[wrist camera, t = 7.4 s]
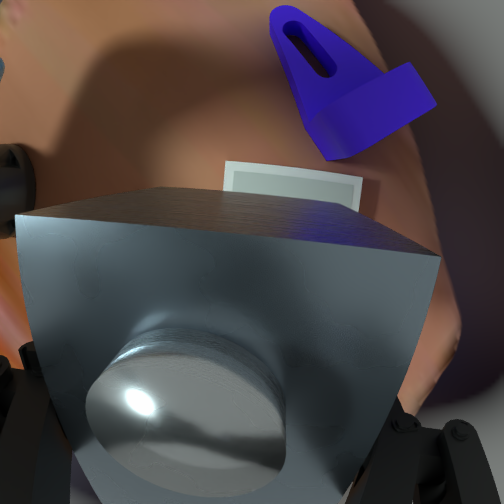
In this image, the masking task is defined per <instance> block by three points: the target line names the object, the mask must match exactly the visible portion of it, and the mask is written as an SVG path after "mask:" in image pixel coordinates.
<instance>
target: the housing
mask: <svg viewBox="0 0 504 504" xmlns="http://www.w3.org/2000/svg"><path fill="white" fill-rule="evenodd" d="M15 227H16V241H17V252H18V261H19V269H20V276H21V283H22V289H23V295H24V301H25V306H26V311H27V316H28V321H29V325H30V329H31V334H32V338H33V342H34V346H35V349H36V353H37V357H38V360H39V363H40V367H41V370H42V373H43V376H44V379H45V382H46V385H47V388H48V391H49V394H50V397H51V400H52V402H53V405H54V408H55V410H56V413H57V415H58V418H59V420H60V423H61V425H62V427H63V430H64V432H65V434H66V436H67V439H68V441H69V443H70V445H71V447H72V449H73V451H74V453H75V456H76V457H77V459H78V462H79V463H80V465H81V467H82V469H83V471H84V473H85V475H86V476H87V478H88V480H89V482H90V484H91V486H92V487H93V489H94V491H95V492H96V494H97V496H98V497H99V499H100V501H101V502H102V504H338V502H339V501H340V499H341V498H342V496H343V495H344V493H345V492H346V490H347V488H348V487H349V486H350V484H351V482H352V481H353V479H354V478H355V476H356V474H357V473H358V471H359V469H360V468H361V466H362V464H363V462H364V461H365V459H366V457H367V455H368V453H369V452H370V450H371V448H372V446H373V444H374V442H375V440H376V438H377V437H378V435H379V433H380V431H381V429H382V427H383V425H384V423H385V421H386V418H387V416H388V414H389V412H390V410H391V408H392V406H393V403H394V401H395V399H396V397H397V394H398V392H399V390H400V387H401V385H402V382H403V380H404V378H405V375H406V372H407V370H408V367H409V365H410V362H411V359H412V357H413V354H414V351H415V348H416V346H417V343H418V340H419V337H420V334H421V331H422V328H423V325H424V321H425V318H426V315H427V311H428V308H429V305H430V301H431V297H432V294H433V290H434V286H435V282H436V278H437V274H438V270H439V265H440V261H441V256H439V255H437V254H435V253H434V252H432V251H430V250H428V249H427V248H425V247H423V246H421V245H419V244H418V243H416V242H414V241H412V240H410V239H408V238H407V237H405V236H403V235H401V234H399V233H397V232H395V231H393V230H392V229H390V228H388V227H386V226H384V225H382V224H380V223H378V222H376V221H374V220H372V219H370V218H368V217H366V216H364V215H362V214H360V213H358V212H356V211H354V210H352V209H350V208H348V207H346V206H344V205H342V204H340V203H335V202H327V201H319V200H311V199H303V198H294V197H285V196H275V195H265V194H255V193H244V192H233V191H220V190H207V189H193V188H176V187H156V188H149V189H142V190H136V191H130V192H124V193H118V194H112V195H106V196H101V197H95V198H90V199H85V200H80V201H74V202H70V203H65V204H60V205H55V206H51V207H46V208H42V209H37V210H33V211H29V212H25V213H20V214H16V215H15Z"/></svg>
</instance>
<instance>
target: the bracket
mask: <svg viewBox="0 0 504 504" xmlns="http://www.w3.org/2000/svg"><path fill="white" fill-rule="evenodd" d="M288 35H294V36H297V37H299V38H300V39H301V40H302V41H303V43H304V44H305V45H306V46H307V47H308V49H309V50H310V51H311V52H312V54H313V55H314V56H315V57H316V59H317V60H318V61H319V62H320V64H321V65H322V66H323V68H324V69H325V70H326V71H327V73H328V74H329V76H330V78H324V77H321V76H319V75H318V74H317V73H316V72H315V71H314V70H313V68H312V67H311V66H310V65H309V63H308V62H307V61H306V59H305V58H304V57H303V56H302V55H301V53H300V52H299V51H298V50H297V48H296V47H295V46H294V45H293V44H292V43H291V41H290V40H289V39H288V38H287V37H286V36H288ZM270 36H271V38H272V41H273V43H274V46H275V48H276V51H277V53H278V56H279V58H280V61H281V63H282V66H283V69H284V71H285V74H286V77H287V79H288V82H289V85H290V87H291V90H292V93H293V96H294V98H295V101H296V104H297V107H298V110H299V113H300V116H301V119H302V121H303V124H304V127H305V129H306V131H307V132H308V134H309V135H310V137H311V138H312V140H313V141H314V143H315V144H316V146H317V147H318V149H319V150H320V152H321V153H322V155H323V156H324V158H325V159H326V161H330V160H337V159H344V158H348V157H351V156H353V155H355V154H357V153H359V152H361V151H363V150H365V149H367V148H368V147H370V146H372V145H373V144H375V143H377V142H378V141H380V140H381V139H383V138H385V137H386V136H388V135H390V134H391V133H393V132H394V131H396V130H398V129H399V128H401V127H403V126H404V125H406V124H408V123H409V122H411V121H413V120H414V119H416V118H417V117H419V116H421V115H422V114H424V113H426V112H427V111H429V110H431V109H432V108H434V107H435V106H436V105H437V104H436V102H435V100H434V98H433V97H432V95H431V93H430V92H429V90H428V88H427V87H426V85H425V84H424V82H423V81H422V79H421V78H420V76H419V74H418V73H417V71H416V70H415V68H414V67H413V65H412V64H411V63H410V62H407V63H405V64H403V65H401V66H399V67H397V68H395V69H393V70H391V71H389V72H387V73H385V74H384V73H383V72H382V71H381V70H379V69H378V68H377V67H376V66H375V65H374V64H372V63H371V62H370V61H369V60H368V59H366V58H365V57H364V56H363V55H362V54H360V53H359V52H358V51H357V50H355V49H354V48H353V47H352V46H350V45H349V44H348V43H346V42H345V41H344V40H342V39H341V38H340V37H338V36H337V35H336V34H334V33H333V32H331V31H330V30H329V29H327V28H326V27H324V26H323V25H322V24H320V23H319V22H317V21H316V20H314V19H313V18H311V17H310V16H308V15H306V14H305V13H303V12H302V11H300V10H299V9H297V8H295V7H293V6H288V5H283V6H279V7H276V8H275V9H273V10H272V12H271V13H270Z"/></svg>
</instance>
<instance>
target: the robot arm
mask: <svg viewBox="0 0 504 504" xmlns="http://www.w3.org/2000/svg"><path fill="white" fill-rule="evenodd" d="M4 69H5V65H4V62H3V60H2V59H1V58H0V81H1V79H2V76H3V74H4ZM35 191H36V189H35V177H34V172H33V168H32V165H31V162H30V160H29V158H28V156H27V154H26V153H25V152H24V150H23V149H22V148H20V147H19V146H17V145H14V144H0V239H6V238H10V237H12V236H15V235H16V227H15V215H16V214H20V213H25V212H29V211H33V209H34V203H35ZM18 351H19V354H20V357H21V360H22V363H23V367H24V370H22V369H15V368H11V365H10V363H9V360H8V359H7V357H5V356H3V355H0V504H70V476H71V475H70V474H71V461H72V447H71V445H70V443H69V441H68V439H67V436H66V434H65V432H64V430H63V427H62V425H61V423H60V420H59V418H58V415H57V413H56V410H55V408H54V405H53V402H52V400H51V397H50V394H49V391H48V388H47V385H46V382H45V379H44V376H43V373H42V370H41V367H40V363H39V360H38V357H37V353H36V349H35V346H34V342H33V341H31V342H28V343H26V344H24V345H22V346H21V347H20V348H19V350H18ZM352 482H353V484H352V487H351V489H350V492H349V495H348V497H347V500H346V502H345V504H412V501H413V504H501V502H500V498H499V495H498V491H497V488H496V485H495V481H494V479H493V476H492V472H491V469H490V467H489V463H488V461H487V458H486V455H485V452H484V450H483V447H482V444H481V442H480V439H479V437H478V434H477V431H476V430H475V429H474V427H473V426H472V425H471V424H470V423H468V422H466V421H464V420H459V419H455V420H450V421H449V422H447V423H446V424H445V426H444V428H443V429H442V430H440V429H432V428H425V427H421V423H420V422H419V420H418V419H417V418H416V417H414V416H413V415H411V414H408V413H405V412H404V410H403V408H402V406H401V403H400V401H399V399H398V397H396V399H395V401H394V403H393V406H392V408H391V410H390V412H389V414H388V416H387V418H386V421H385V423H384V425H383V427H382V429H381V431H380V433H379V435H378V437H377V438H376V440H375V442H374V444H373V446H372V448H371V450H370V452H369V453H368V455H367V457H366V459H365V461H364V462H363V464H362V466H361V468H360V469H359V471H358V473H357V474H356V476H355V478H354V479H353V481H352Z"/></svg>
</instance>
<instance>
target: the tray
mask: <svg viewBox="0 0 504 504" xmlns="http://www.w3.org/2000/svg"><path fill="white" fill-rule="evenodd" d="M362 180H363V177H357V176H351V175H345V174H338V173H331V172H325V171H317V170H310V169H302V168H294V167H286V166H277V165H267V164H257V163H246V162H234V161H226V164H225V175H224V187H223V191H233V192H244V193H255V194H265V195H275V196H285V197H294V198H303V199H311V200H319V201H327V202H335V203H340V204H342V205H344V206H346V207H348V208H350V209H352V210H354V211H356V212H358V211H359V204H360V196H361V189H362Z"/></svg>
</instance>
